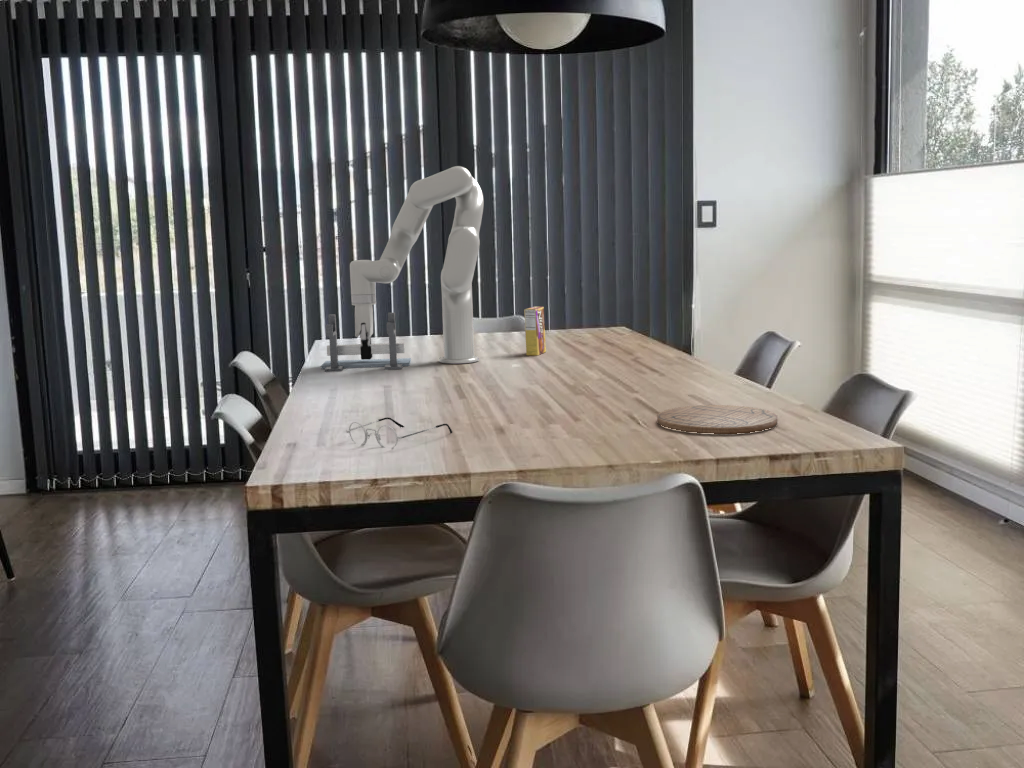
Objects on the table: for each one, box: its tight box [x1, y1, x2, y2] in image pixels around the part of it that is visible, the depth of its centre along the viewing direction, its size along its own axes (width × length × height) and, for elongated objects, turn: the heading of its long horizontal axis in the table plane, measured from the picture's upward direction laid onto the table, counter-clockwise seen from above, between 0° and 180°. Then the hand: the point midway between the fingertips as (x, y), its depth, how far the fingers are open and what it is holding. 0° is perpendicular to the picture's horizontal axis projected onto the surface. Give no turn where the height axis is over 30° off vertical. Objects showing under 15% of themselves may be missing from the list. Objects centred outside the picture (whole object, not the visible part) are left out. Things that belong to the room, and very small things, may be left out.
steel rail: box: [326, 342, 406, 357], centre depth 320 cm, size 2×24×3 cm, turn 92°
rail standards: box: [324, 312, 403, 373], centre depth 309 cm, size 10×23×17 cm, turn 92°
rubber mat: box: [320, 357, 412, 370], centre depth 321 cm, size 11×27×1 cm, turn 92°
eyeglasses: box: [345, 417, 453, 449], centre depth 210 cm, size 16×19×5 cm
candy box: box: [523, 306, 547, 357], centre depth 334 cm, size 9×4×15 cm, turn 160°
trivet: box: [656, 404, 778, 434], centre depth 217 cm, size 25×25×2 cm
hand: (366, 358), depth 320 cm, fingers closed on steel rail, 2 cm apart
